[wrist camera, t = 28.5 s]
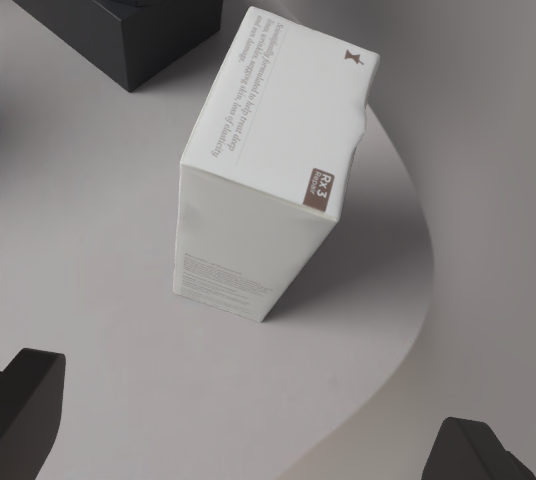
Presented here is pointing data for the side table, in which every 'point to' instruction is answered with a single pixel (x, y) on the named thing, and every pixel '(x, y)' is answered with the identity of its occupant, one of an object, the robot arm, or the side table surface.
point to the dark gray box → (129, 32)
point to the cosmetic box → (268, 162)
